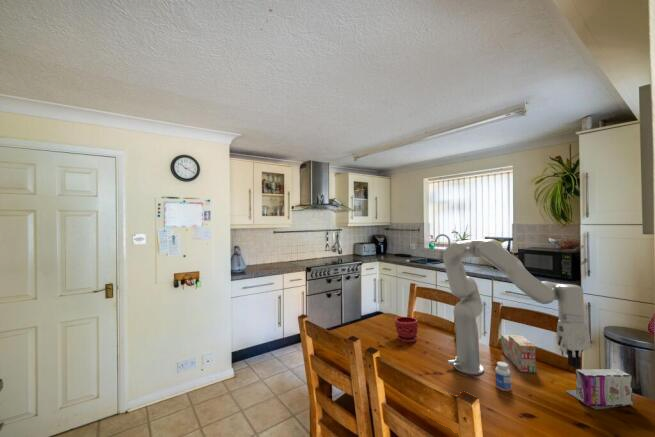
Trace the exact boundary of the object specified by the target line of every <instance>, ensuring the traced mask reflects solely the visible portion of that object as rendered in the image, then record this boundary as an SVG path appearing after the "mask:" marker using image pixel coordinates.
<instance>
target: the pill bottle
mask: <svg viewBox="0 0 655 437" xmlns="http://www.w3.org/2000/svg"><path fill="white" fill-rule="evenodd" d="M494 370H495V371H494V372H495V374H494V375H495V386H496V388H497V389H498V390H501V391H504V392H509V391H511V390H512V378H511V376H512V375H511V371H510V369H509V364H508V363H507V362H504V361H497V362H496V367H495V368H494Z"/></svg>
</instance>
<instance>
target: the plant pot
mask: <svg viewBox="0 0 655 437" xmlns="http://www.w3.org/2000/svg"><path fill="white" fill-rule="evenodd" d="M394 321H395V322H394V324H395V325H394V326H395V330H396V333H397V339H398V340H399V341H400V342H403V343H414V342H415V341H417V340H418V336H417V334H418V331H419V330H418V327H419V324H418V323H419V322H418V319H417V318H415V317H410V316H400V317H399V316H398V317H397V318H395V319H394Z"/></svg>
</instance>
